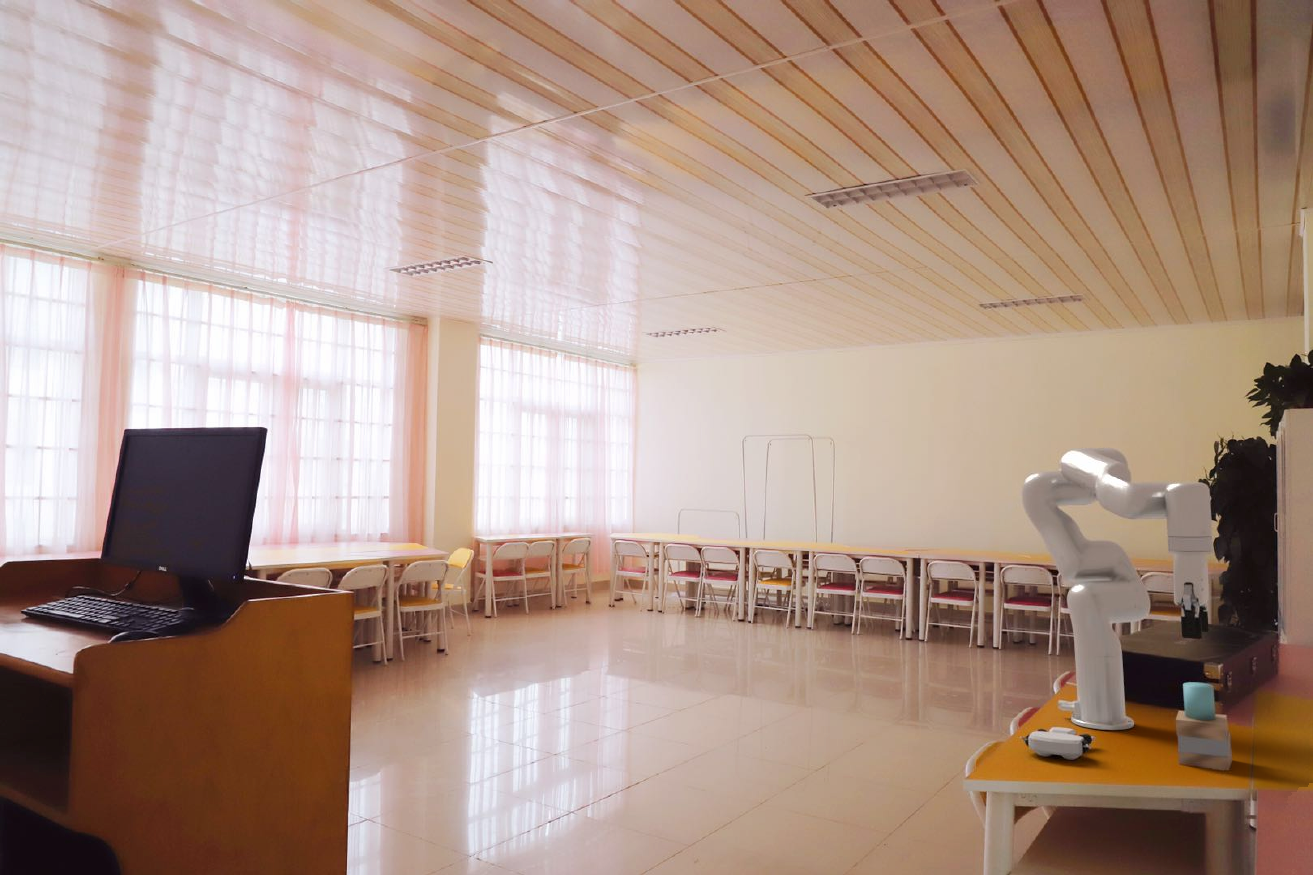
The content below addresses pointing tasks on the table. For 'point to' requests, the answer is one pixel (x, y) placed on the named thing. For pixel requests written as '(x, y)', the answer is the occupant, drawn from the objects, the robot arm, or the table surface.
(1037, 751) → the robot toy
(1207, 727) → the slab top
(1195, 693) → the teal open box
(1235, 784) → the table surface
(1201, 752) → the slab middle
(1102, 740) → the table surface
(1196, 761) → the slab bottom
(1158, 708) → the table surface
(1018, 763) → the table surface
